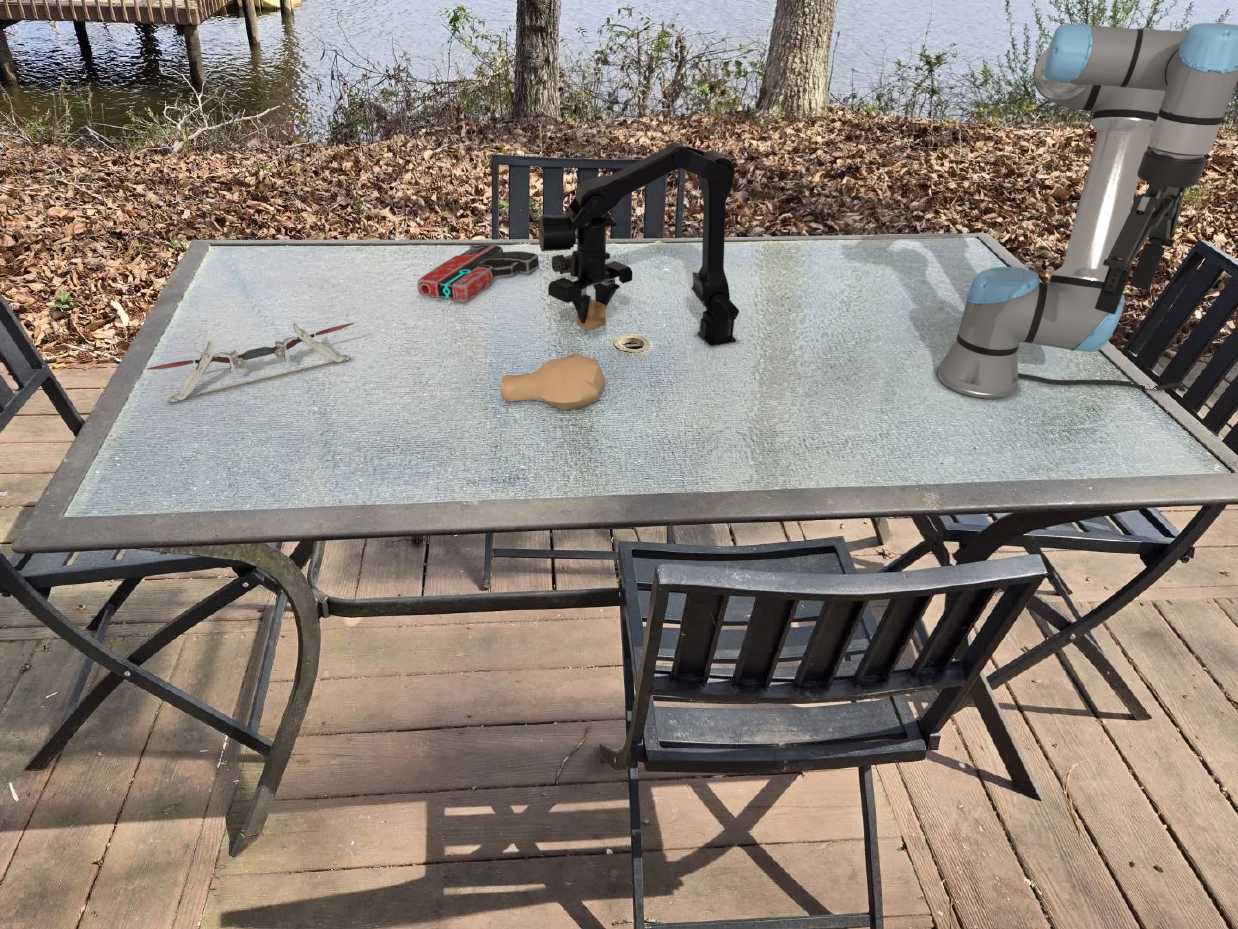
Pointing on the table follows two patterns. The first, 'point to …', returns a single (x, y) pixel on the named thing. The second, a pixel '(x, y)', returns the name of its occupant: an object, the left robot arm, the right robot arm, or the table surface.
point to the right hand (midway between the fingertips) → (1122, 298)
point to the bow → (250, 354)
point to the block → (594, 316)
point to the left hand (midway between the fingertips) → (590, 319)
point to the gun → (474, 272)
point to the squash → (558, 383)
